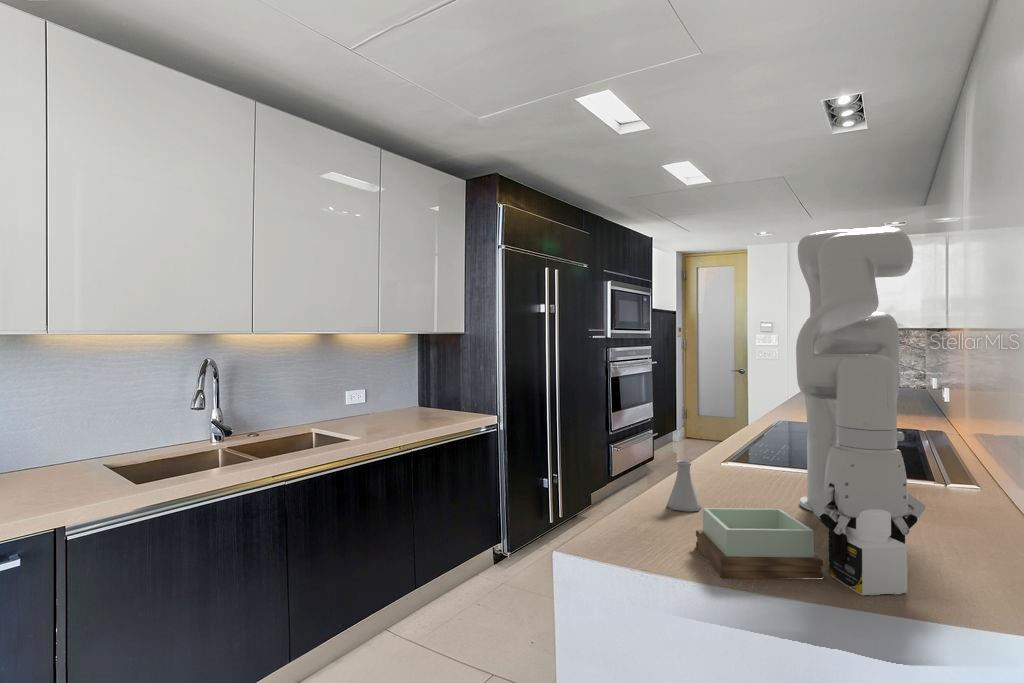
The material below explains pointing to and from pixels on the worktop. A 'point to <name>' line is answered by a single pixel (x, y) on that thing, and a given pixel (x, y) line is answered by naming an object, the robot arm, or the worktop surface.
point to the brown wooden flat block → (758, 563)
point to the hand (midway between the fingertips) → (866, 557)
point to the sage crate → (757, 533)
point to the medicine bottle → (871, 556)
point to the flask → (683, 490)
